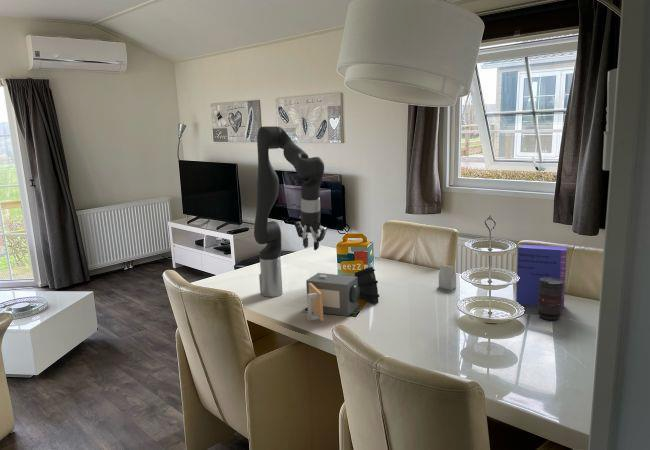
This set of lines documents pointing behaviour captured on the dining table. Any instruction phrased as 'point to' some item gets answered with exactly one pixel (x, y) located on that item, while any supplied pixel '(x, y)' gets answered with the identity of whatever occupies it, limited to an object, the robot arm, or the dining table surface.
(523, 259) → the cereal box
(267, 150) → the robot arm
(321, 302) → the side door
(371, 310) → the dining table surface
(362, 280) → the black ridged panel
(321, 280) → the grey hinged door box
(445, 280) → the light grey rectangular block
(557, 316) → the camera lens
